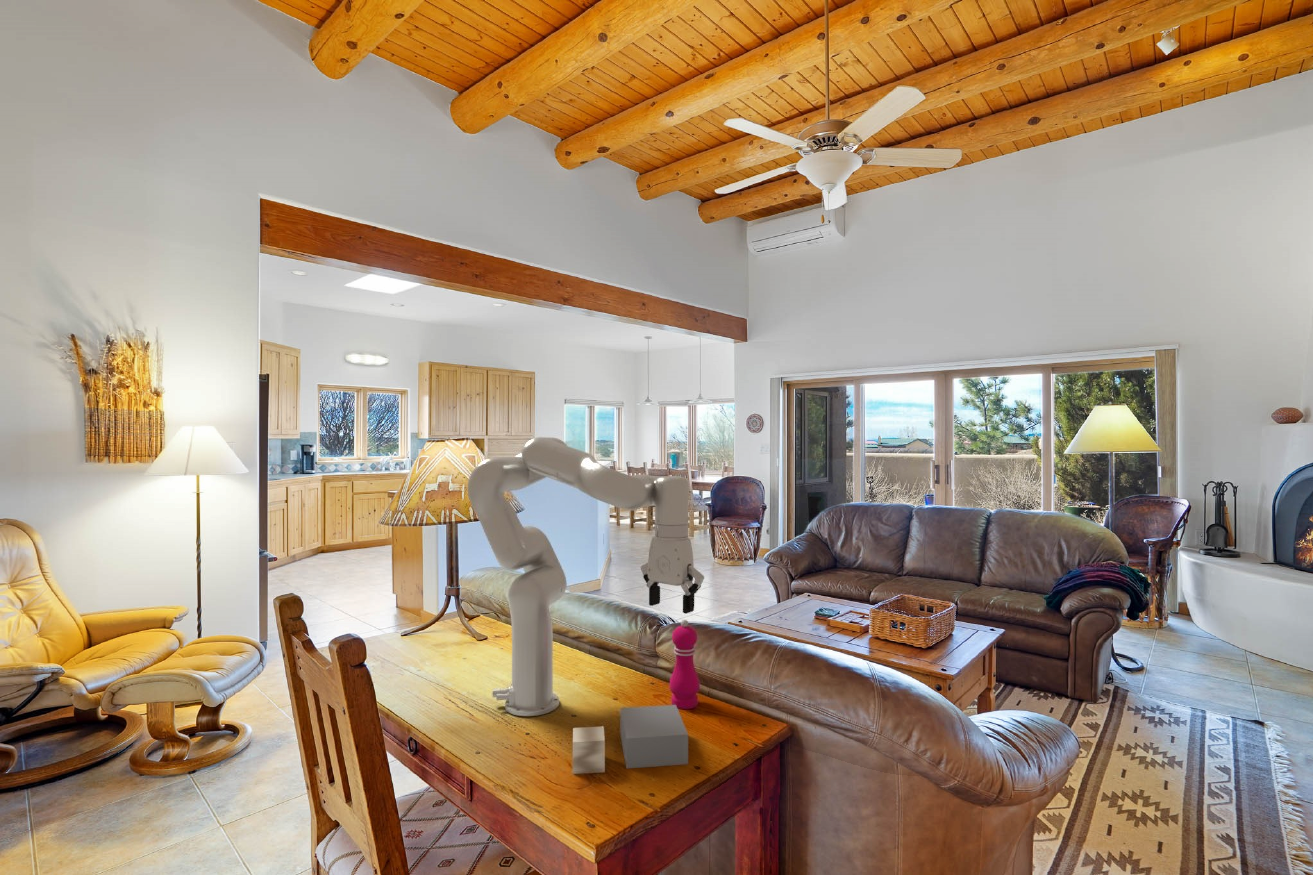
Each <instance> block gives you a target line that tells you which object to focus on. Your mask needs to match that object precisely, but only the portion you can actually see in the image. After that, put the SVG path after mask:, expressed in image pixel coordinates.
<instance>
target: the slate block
mask: <svg viewBox="0 0 1313 875" xmlns="http://www.w3.org/2000/svg"><path fill="white" fill-rule="evenodd" d="M619 719H620V722H619V723H620V724H619V725H620V726H619V727H620V732H619V733H620V735H619V736H620V741H621V745H622V751H623V756H624V763H625V768H626V769H636V768H651V767H665V766H678V765H679V766H680V765H689V733H688V731H687V728H686V726H685V724H684V721H683V718H682V716H681V714H680V712H679V708H677V706H676V705H672V704H670V705H669V704H668V705H666V704H665V705H652V706H651V705H650V706H648V705H647V706H636V707H635V706H633V707H620V717H619Z"/></svg>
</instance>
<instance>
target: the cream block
mask: <svg viewBox="0 0 1313 875" xmlns="http://www.w3.org/2000/svg"><path fill="white" fill-rule="evenodd" d="M605 737H606V736H605V726H603V725H602V726H585V727H584V726H583V727H573V728H572V775H577V774H592V773H593V774H594V773H595V774H596V773H605V772H606V770H605V768H606V763H605V762H606V754H605V753H606V748H605V747H606V741H605V740H606V738H605Z"/></svg>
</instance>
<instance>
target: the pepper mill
mask: <svg viewBox="0 0 1313 875" xmlns="http://www.w3.org/2000/svg"><path fill="white" fill-rule="evenodd" d="M671 640H672V643H673V644H674V646H673V647H674V648H673V654H675V665H674V669H673V672H672V674H671V676H670V679H669V685H668V686H669V691H670V692H671V693H672V695H671V703H670V704H671V705H676V706H677V709H679V710H680V709H681V710H689V709H693V708H696V707H697V706H698V703H699V702H698V700H699V699H698V698H699V697H698V695H697V693H699V690H700V687H701V685H700V679H699V675H698V674H697V671H696V668H695V666H694V655H695V654H696V647H695V645H696V644H697V642H698V634H697V632H696V630H695V628H693V627H692V626H689V621H688V620H687V619H682V620H681V622H680V625H679V626H677V627H676V628H675V629H673V632H672V634H671Z"/></svg>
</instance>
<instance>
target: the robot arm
mask: <svg viewBox="0 0 1313 875" xmlns="http://www.w3.org/2000/svg"><path fill="white" fill-rule="evenodd" d="M545 478H546V479H547V478H548V479H552V480H554V481H557V482H560V483H562V484H565V485H568V486H570V487H573V488H576V489H578V490H579V491H580V492H581V493H584V494H586V495H587V496H590V497H592V498H593V499H596V500H598V501H601V502H603V503H605V504H608V505H611V506H612V507H613V506H614V507H617V508H619V509H622V510H627V511H637V510H640V509H642V508H647V507H652V506H653V507H654V523H653V525H652V531H654V536H652V537H651V541H650V545H649V550H648V558H647V560H648V562H647V563H645V564H643V565H641V566H640V570H641V573H642V575H643V580H644V581H645V583H646V587H647V588H648V606H650V607H653V606H657V605H658V604H660V603H661V585H659V584H664V585H670V586H676V587H679V586H680V587H681V589H682V590H683V593H684V594H683V595H682V614H690V613H692V612H694V610H695V594H697V593H698V591H699V590H700V589H701V588H702V584H703V582H704V580H705V576H704V574H703V573H701V572H700V571H699V570H697V568H695V567H694V566H695V565H694V554H693V547H692V546H693V545H692V541H691V538H689V520H690V518H689V515H690V514H689V502H690V501H689V500H690V498H689V496H690V490H689V489H690V486H689V485H690V483H689V481H688V478H686V477H684V476H678V475H675V476H674V475H667V476H663V475H662V476H657V475H649V474H634V475H633V474H632V475H630V474H626V473H623V472H620V471H618V470H615V469H613V468H611V467H607V466H605V465H603V464H601V463H599V462H598V461H597V459H596V458H595V456H594V455H592V454H590V453H589V452H586V451H582V450H580V449H577V448H574V447H572V446H568V445H567V444H566V442H564V441H563V440H562V439H560V438H556V437H550V436H549V437H545V436H544V437H543V436H542V437H541V436H539V437H533V438H531V439H530V440H528V441H526V443H525V444H524V445H523V447H522V449H521V453H519V454H517V455H514V456H497V457H496V456H495V457H489V458H486V459H484V460H482V461H481V462H479V463H478V464H476V466H474V468H473V470H472V471H471V473H470V476H469V478H468V482H467V496H468V500H469V503H470V505H471V507H472V510H473V511H474V513H475V515H476V517H477V519H478V520H479V522H480V525H481V528H482V529H483V532H484V534H485V536H486V538H487V541H488V543H489V546H490V547H491V549H492V552H493V554H494V557H495V559H496V560H497V563H498V564H499V565H500V567H501V568H503V569H504V570H506V571H518V570H520V569H523V571H524V573H521V574H520V575H518V576H517V578H515V579H514V580H513V581H512V583H511V585H510V587H509V590H508V593H507V595H508V596H507V601H508V608H509V611H510V612H509V613H510V620H511V685H510V686H506V688H493V689H492V698H496V701H503V700H504V701H505V702H504V709H505V710H506V712H507V713H509V714H512V715H514V716H519V717H535V716H541V715H545V714H549V713H551V712H553V711H554V710H556V709H557V708H558V707H559V705H560V697H559V696H558V695H557V694H556V693H554V690H553V689H554V688H553V686H554V685H553V684H554V682H553V678H554V677H553V676H554V675H553V674H554V673H553V671H554V669H553V666H554V663H553V662H554V660H553V658H554V656H553V654H554V652H553V650H554V649H553V648H554V647H553V646H554V642H553V641H554V638H553V636H554V634H553V632H554V631H553V621H552V617H551V612H550V606H551V605H553V604H554V603H556V602H558V601H559V600H560V599H562V597H563V596H564V595H565V592H566V590H567V584H568V583H567V577H566V574H565V572H564V569H563V567H562V565H561V563H560V561H559V559H558V556H557V554H556V553H555V551H554V548H553V546H552V544H551V541H550V540H549V538H548V536H547V535H546V534H545V533H544V532H543V531H542V530H541V529H539V528H538V527H535V526H530V525H526V526H523V524H522V523H521V521H520V519H519V517H518V514H517V512H516V510H515V509H514V506H513V505H512V504H511V502H509V500H507V499H506V496H505V495H504V494H505V492H512V491H519V490H522V489H526V488H527V487H530V486H532V485H533V484H537V483H538V482H540V481H543V480H544V479H545ZM693 580H694V581H693Z"/></svg>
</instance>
